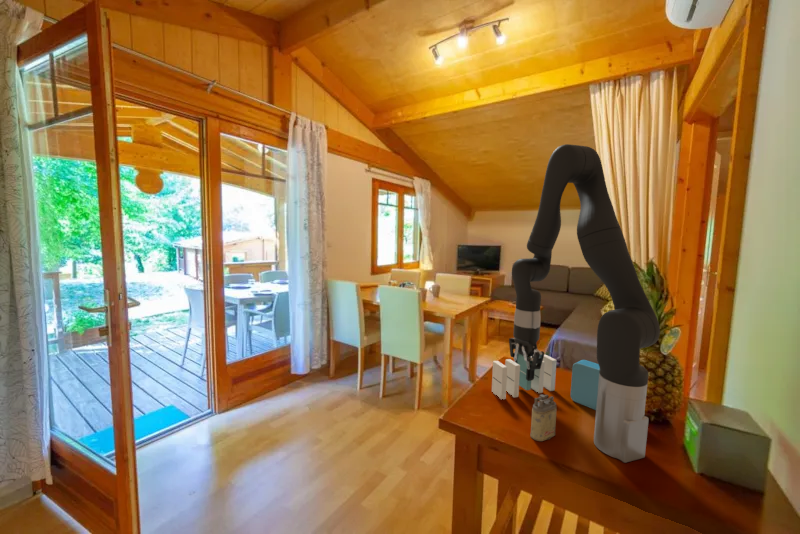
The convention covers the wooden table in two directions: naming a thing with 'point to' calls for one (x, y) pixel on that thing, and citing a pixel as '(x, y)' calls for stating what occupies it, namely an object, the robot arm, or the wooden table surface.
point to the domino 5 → (549, 372)
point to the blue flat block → (585, 383)
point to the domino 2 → (512, 377)
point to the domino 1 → (499, 379)
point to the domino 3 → (523, 373)
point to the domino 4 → (538, 379)
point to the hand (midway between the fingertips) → (523, 375)
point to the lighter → (543, 418)
